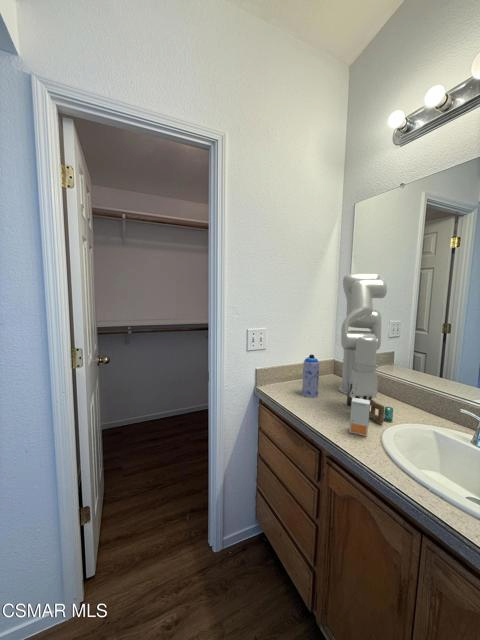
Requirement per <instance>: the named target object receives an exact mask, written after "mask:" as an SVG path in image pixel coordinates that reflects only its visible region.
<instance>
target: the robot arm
mask: <svg viewBox="0 0 480 640" xmlns="http://www.w3.org/2000/svg"><path fill="white" fill-rule="evenodd" d="M342 288H343V293H344V295H345V298H346V317H345V318H344V320H343V322H342V325H341V330H340V334H341V335H340V336H341V337H340V341H341V343H340V344H341V347H342V348H343V361H342V377H341V378H342V381H341V385H339V386H338V391H339V392H340V393H342V394H345V395H347V391H348V383H349V392H350V395H349V396H350V397H351V398H359V399H364V400H371V399H372V400H373V399H375V398H377V395H378V390H379V383H378V381H379V380H378V379H379V378H378V373H377V370H376V369H379V364H376V363H377V351H378V350H379V349H381V342H382V315H381V313H380V311H379V310H376V309H374V308H373V299H384V298H385V297H386V295H387V292H388V287H387V282H386V280H385V279H384V277H383V275H381V273H366V272H365V273H359V272H358V273H357V272H356V273H348V274H346V275H344V277H343V280H342ZM349 328H354V329H369V330H353V329H352V330H349Z"/></svg>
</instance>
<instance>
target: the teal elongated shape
mask: <svg viewBox="0 0 480 640" xmlns="http://www.w3.org/2000/svg"><path fill="white" fill-rule="evenodd" d="M349 395H350V392H349V383H348V391H347V394H346V406H349V407H351V397H350V396H349ZM393 416H394V408H393V407H391V406H385V407H384V422H388V423H392V422H393Z"/></svg>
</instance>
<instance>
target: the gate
mask: <svg viewBox="0 0 480 640" xmlns="http://www.w3.org/2000/svg"><path fill="white" fill-rule="evenodd" d="M351 402H352V398H351ZM385 407H386V406H385V405H383V404H381V403H380V402H377V401H375V400H373V399H371V400H370V409H369V418H370V419H373V420H374V421H376V422H377V423H379V424H381V425H382V424H384V422H385V420H384V411H385ZM376 410H377V411H378V413H377V414H376Z"/></svg>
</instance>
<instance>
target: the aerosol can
mask: <svg viewBox="0 0 480 640" xmlns="http://www.w3.org/2000/svg"><path fill="white" fill-rule="evenodd" d="M302 369H303V371H302V389H301V390H302V392H301V395H302V396H303V397H306V398H311V399H312V398H314V399H315V398H318V397H319V382H320V381H319V378H320V361H319V360H318V359H317V358H316V357H315V354H309V356H308V357H306V358H305V359H304V361H303V367H302Z"/></svg>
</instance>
